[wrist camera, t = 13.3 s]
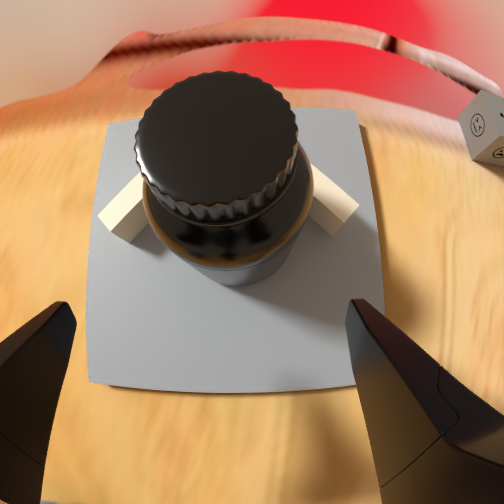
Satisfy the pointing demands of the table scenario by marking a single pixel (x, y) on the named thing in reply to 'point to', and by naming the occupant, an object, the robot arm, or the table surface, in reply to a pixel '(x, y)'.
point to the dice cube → (484, 128)
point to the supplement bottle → (224, 175)
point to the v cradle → (232, 297)
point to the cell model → (48, 502)
